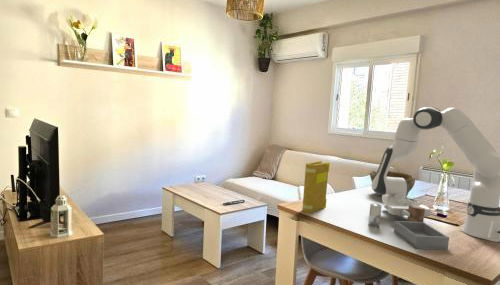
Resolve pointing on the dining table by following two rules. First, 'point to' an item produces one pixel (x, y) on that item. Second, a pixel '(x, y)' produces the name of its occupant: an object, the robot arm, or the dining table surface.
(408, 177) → the bowl
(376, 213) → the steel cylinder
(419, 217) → the walnut block
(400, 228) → the tote
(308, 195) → the book
